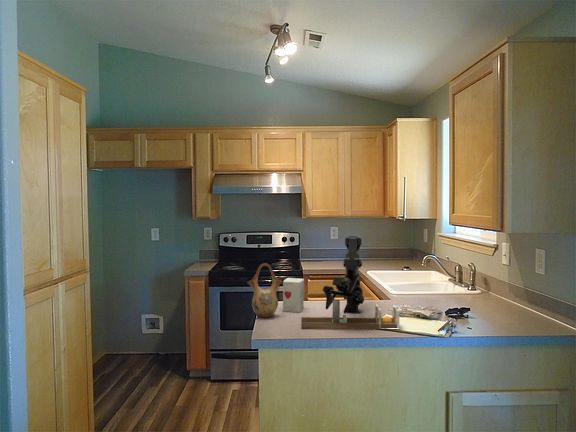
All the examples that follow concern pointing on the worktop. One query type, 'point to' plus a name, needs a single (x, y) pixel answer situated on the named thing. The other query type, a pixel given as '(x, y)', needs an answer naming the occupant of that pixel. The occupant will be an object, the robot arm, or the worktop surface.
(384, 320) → the orange ball
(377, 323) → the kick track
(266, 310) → the ceramic vessel
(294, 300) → the supplement box
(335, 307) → the striker sled
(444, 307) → the worktop surface
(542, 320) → the worktop surface
